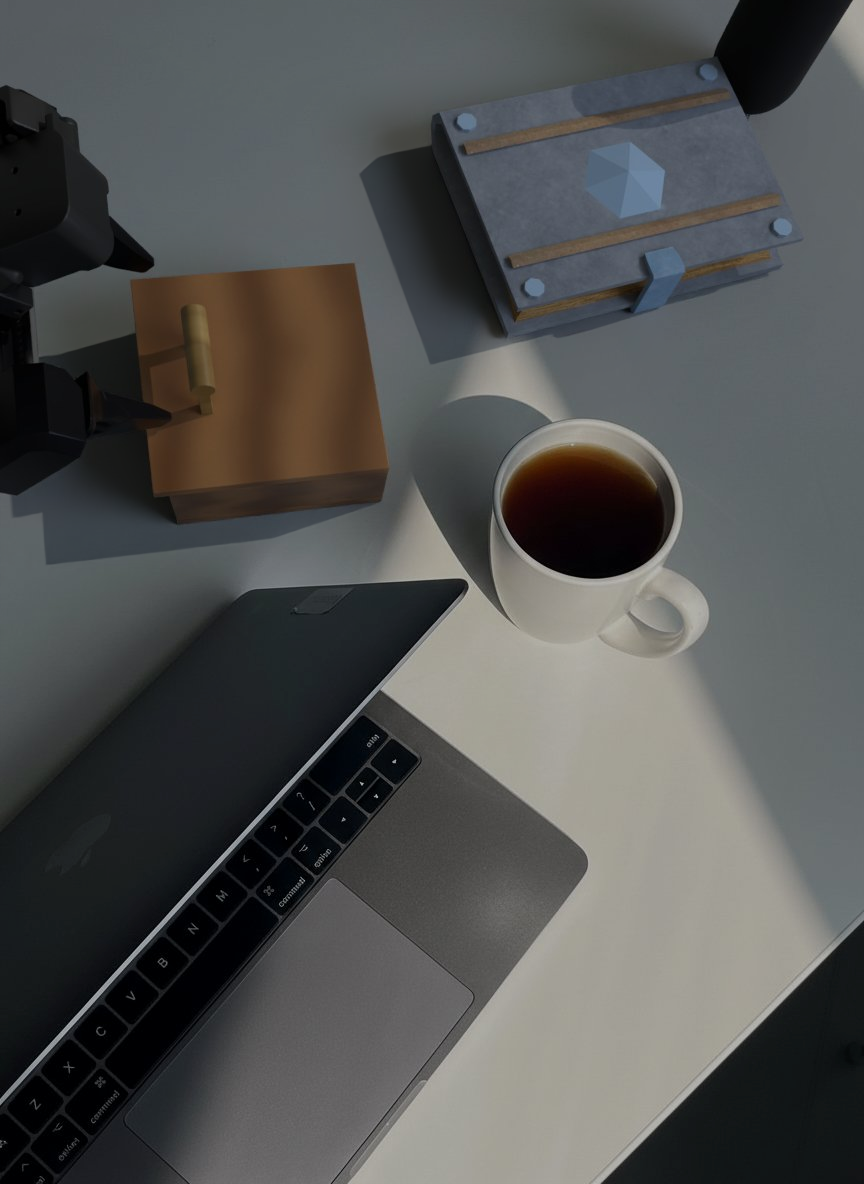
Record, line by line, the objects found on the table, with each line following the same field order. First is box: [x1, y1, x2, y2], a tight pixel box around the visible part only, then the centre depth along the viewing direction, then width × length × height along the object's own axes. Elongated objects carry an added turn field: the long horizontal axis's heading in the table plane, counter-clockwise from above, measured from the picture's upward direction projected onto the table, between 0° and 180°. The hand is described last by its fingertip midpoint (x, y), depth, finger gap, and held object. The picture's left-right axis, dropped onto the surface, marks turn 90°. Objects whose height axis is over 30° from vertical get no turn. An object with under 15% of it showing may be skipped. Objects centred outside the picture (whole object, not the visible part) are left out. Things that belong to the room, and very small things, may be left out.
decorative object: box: [712, 0, 854, 116], centre depth 70 cm, size 7×7×15 cm
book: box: [430, 56, 805, 339], centre depth 71 cm, size 21×16×5 cm
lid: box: [129, 262, 390, 498], centre depth 59 cm, size 13×14×5 cm
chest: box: [168, 471, 389, 525], centre depth 63 cm, size 13×14×5 cm
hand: (158, 341), depth 55 cm, fingers open, 9 cm apart
